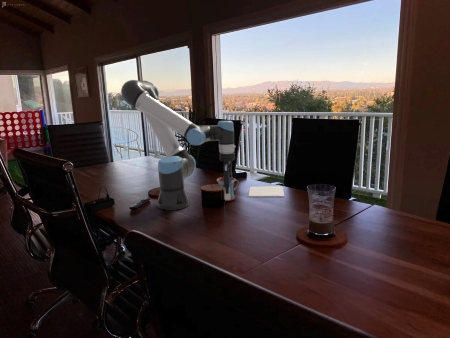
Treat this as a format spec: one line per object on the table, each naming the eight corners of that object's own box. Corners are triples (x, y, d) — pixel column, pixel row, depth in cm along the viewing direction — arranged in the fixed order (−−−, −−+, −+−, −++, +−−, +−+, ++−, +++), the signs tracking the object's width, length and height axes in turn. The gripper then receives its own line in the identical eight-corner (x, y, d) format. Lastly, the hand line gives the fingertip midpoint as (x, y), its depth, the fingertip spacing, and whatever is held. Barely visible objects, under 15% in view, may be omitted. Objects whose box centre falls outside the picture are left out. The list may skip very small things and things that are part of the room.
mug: (223, 203, 156) (222, 182, 154) (214, 198, 164) (213, 178, 162) (243, 198, 162) (243, 178, 160) (234, 194, 170) (233, 175, 168)
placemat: (284, 196, 163) (284, 195, 163) (248, 196, 165) (248, 195, 165) (282, 187, 180) (282, 186, 180) (250, 187, 183) (250, 186, 183)
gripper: (232, 156, 147) (234, 203, 151) (236, 149, 167) (237, 191, 172) (216, 156, 148) (218, 203, 152) (222, 149, 168) (224, 191, 173)
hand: (228, 196), depth 162 cm, fingers closed on mug, 8 cm apart
